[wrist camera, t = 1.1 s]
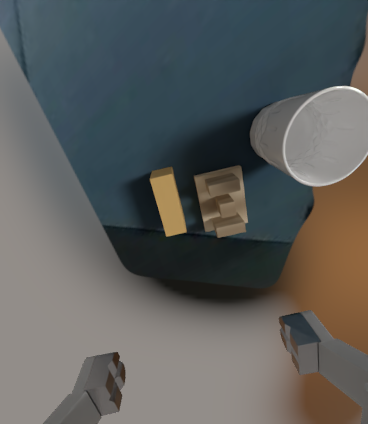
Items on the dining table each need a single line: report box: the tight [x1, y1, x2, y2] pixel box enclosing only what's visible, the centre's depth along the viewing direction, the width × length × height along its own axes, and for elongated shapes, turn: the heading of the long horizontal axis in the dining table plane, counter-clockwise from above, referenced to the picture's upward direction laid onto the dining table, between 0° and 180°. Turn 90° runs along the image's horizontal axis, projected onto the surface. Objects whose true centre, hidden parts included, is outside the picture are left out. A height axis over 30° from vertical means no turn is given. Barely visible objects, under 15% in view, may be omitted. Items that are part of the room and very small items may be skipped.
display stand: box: [194, 165, 248, 238], centre depth 29 cm, size 8×6×4 cm
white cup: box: [250, 86, 368, 186], centre depth 23 cm, size 8×8×10 cm
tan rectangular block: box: [150, 167, 187, 236], centre depth 28 cm, size 8×3×4 cm, turn 13°
